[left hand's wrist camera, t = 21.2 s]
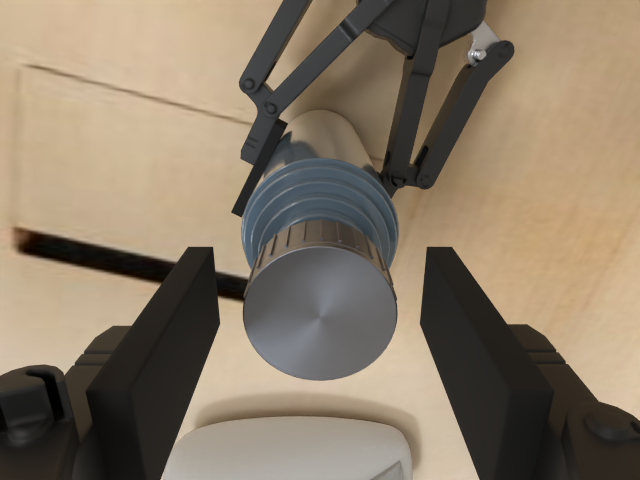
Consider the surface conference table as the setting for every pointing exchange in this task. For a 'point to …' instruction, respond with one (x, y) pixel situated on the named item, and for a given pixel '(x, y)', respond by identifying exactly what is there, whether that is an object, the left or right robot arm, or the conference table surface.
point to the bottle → (320, 186)
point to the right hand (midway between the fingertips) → (286, 231)
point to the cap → (320, 301)
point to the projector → (291, 451)
